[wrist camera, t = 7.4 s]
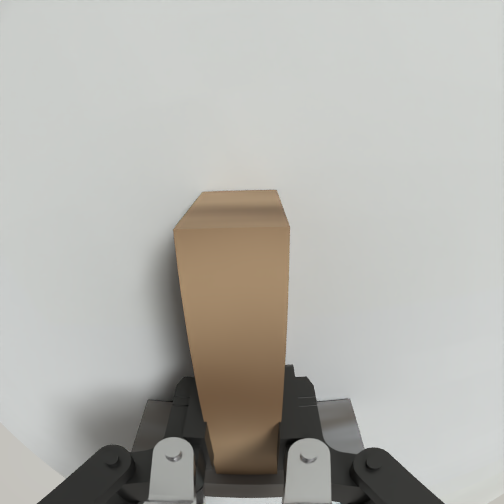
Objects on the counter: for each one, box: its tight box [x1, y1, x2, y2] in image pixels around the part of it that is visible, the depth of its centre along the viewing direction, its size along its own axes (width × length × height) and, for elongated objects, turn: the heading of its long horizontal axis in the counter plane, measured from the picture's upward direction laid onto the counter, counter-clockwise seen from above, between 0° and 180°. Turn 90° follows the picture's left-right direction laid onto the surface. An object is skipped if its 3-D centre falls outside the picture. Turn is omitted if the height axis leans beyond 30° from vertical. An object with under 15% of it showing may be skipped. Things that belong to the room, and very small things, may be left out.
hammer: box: [132, 190, 364, 498], centre depth 10 cm, size 12×10×4 cm
